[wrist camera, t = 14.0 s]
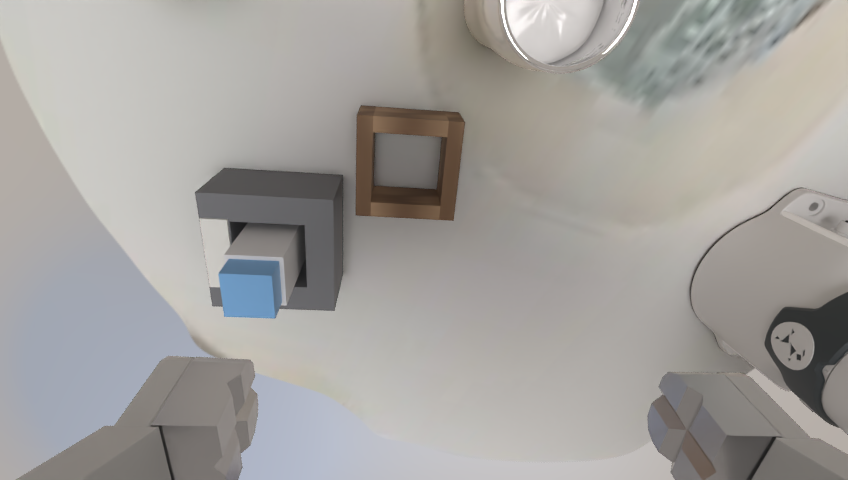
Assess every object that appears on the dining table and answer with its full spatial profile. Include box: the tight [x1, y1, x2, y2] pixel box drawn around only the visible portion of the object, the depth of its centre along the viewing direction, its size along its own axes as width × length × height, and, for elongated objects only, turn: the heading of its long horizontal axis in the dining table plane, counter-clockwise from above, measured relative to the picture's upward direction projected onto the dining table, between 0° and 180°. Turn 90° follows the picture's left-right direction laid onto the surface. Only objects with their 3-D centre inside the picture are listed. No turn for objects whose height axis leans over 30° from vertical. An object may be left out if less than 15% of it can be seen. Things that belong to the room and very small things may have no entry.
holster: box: [356, 105, 465, 221], centre depth 37 cm, size 8×8×4 cm
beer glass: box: [464, 0, 640, 74], centre depth 27 cm, size 7×7×15 cm
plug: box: [218, 222, 306, 318], centre depth 35 cm, size 4×4×12 cm
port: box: [195, 168, 343, 311], centre depth 38 cm, size 10×10×6 cm
